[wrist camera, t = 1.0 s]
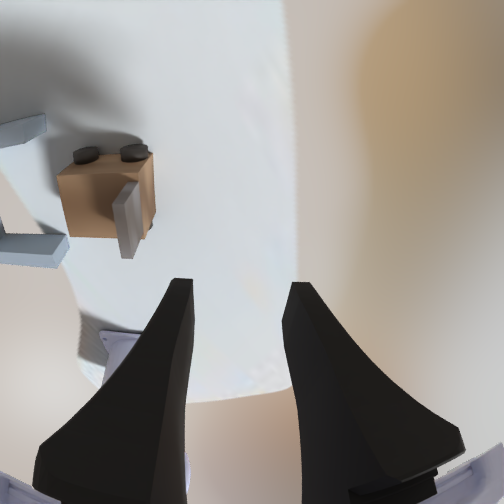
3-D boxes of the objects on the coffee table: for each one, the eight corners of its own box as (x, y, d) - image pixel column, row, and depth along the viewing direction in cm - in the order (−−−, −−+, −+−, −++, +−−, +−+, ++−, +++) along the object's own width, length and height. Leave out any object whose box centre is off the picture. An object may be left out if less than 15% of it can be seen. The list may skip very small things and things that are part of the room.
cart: (156, 219, 18) (136, 275, 14) (90, 217, 18) (56, 270, 13) (152, 143, 15) (121, 180, 11) (79, 147, 15) (31, 185, 10)
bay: (69, 247, 19) (56, 268, 17) (1, 244, 18) (-12, 262, 16) (44, 113, 13) (22, 123, 11) (-27, 133, 12) (-48, 145, 10)
